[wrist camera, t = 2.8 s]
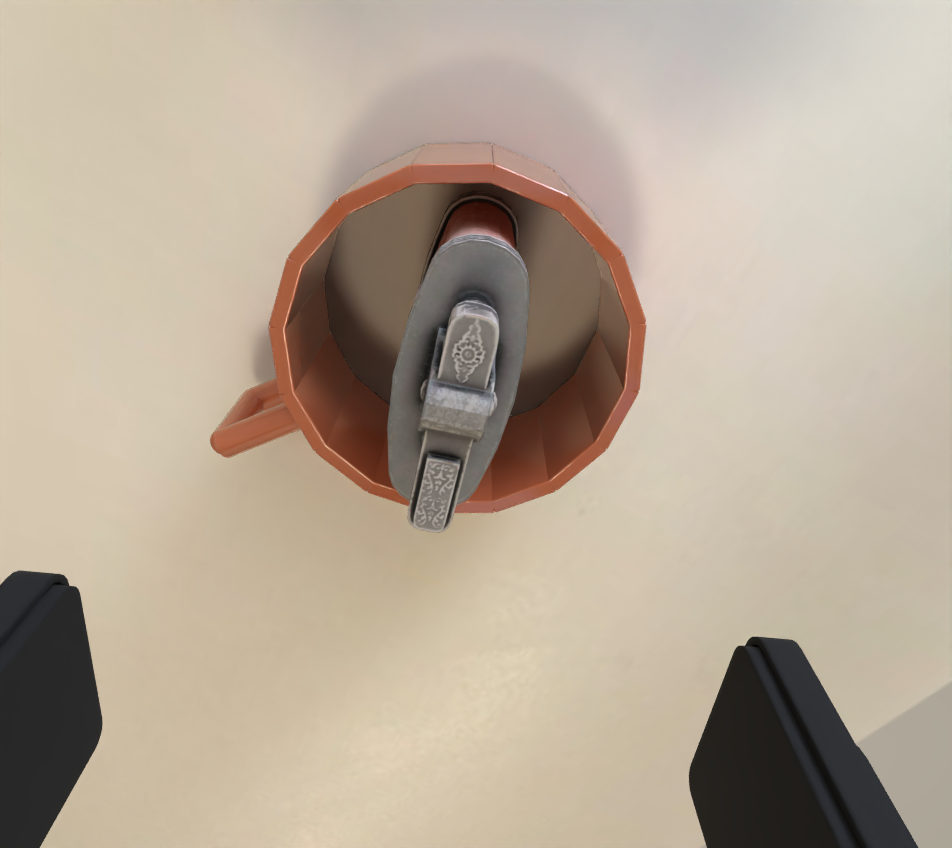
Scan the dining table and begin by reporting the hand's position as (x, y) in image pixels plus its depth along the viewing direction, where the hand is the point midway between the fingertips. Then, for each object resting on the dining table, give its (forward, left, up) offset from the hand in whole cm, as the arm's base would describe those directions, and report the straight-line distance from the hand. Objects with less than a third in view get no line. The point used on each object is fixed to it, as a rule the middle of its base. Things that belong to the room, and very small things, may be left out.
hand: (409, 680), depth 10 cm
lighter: (0, 0, -18) cm, 18 cm away
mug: (+1, +1, -17) cm, 17 cm away
